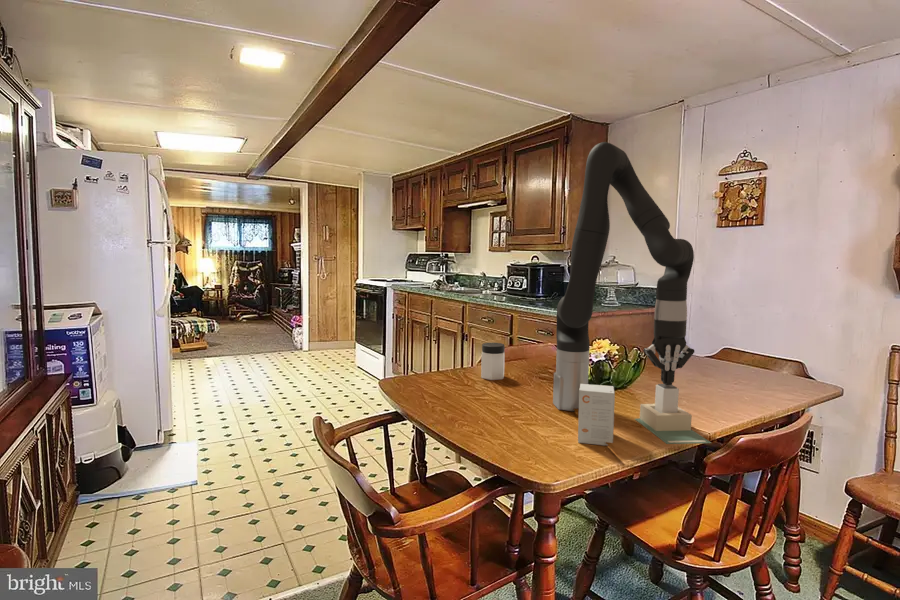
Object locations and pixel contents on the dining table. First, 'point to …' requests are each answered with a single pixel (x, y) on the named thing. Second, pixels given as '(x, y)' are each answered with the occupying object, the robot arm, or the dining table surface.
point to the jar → (492, 361)
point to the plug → (666, 398)
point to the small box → (596, 414)
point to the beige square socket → (665, 419)
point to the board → (676, 435)
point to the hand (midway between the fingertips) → (667, 384)
